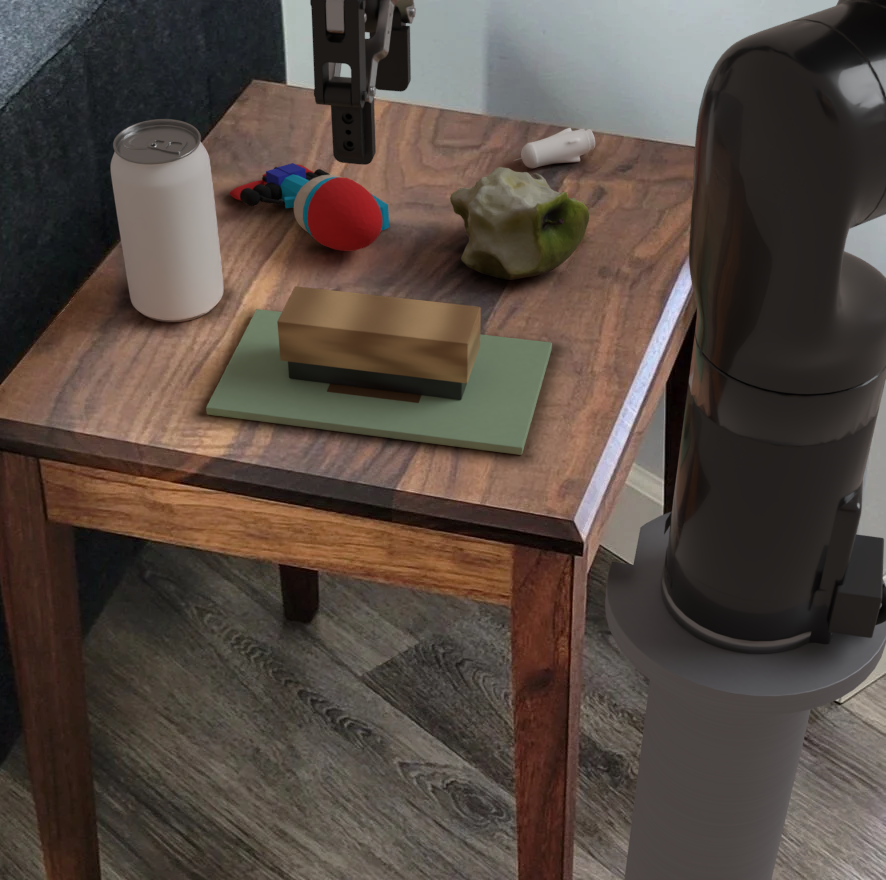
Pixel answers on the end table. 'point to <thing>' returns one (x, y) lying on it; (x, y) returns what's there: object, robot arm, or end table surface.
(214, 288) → the can
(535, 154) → the small white plastic part
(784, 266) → the robot arm
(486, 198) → the fruit
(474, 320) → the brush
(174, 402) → the end table surface
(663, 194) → the end table surface
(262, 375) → the mat
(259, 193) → the toy figure
